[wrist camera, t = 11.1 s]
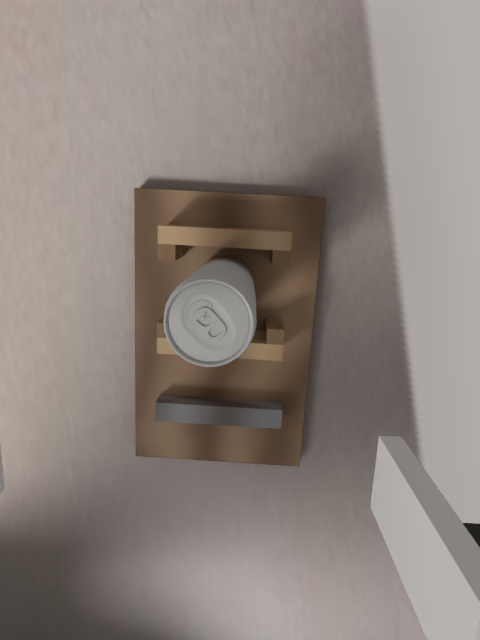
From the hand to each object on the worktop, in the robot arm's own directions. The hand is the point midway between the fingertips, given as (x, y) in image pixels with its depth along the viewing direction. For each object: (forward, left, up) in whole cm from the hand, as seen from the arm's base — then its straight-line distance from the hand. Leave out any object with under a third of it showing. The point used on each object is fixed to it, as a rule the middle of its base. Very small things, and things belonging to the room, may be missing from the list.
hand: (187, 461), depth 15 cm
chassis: (0, -1, -21) cm, 21 cm away
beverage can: (0, +3, -20) cm, 20 cm away
